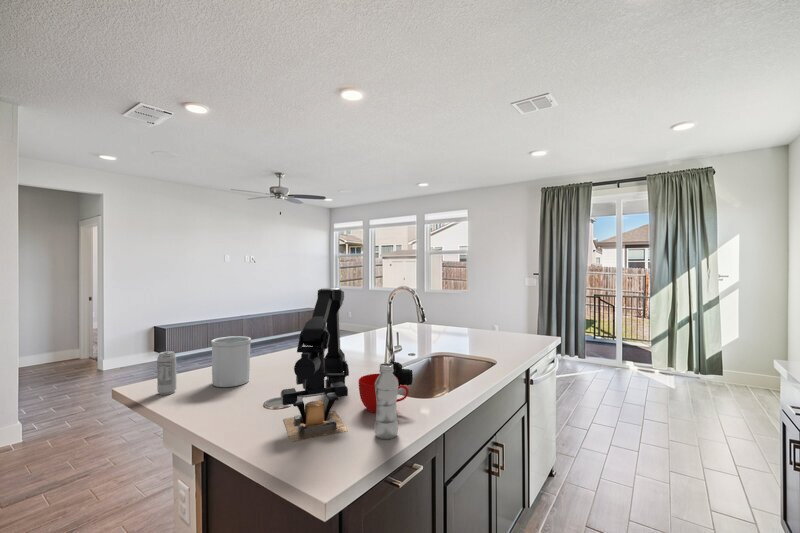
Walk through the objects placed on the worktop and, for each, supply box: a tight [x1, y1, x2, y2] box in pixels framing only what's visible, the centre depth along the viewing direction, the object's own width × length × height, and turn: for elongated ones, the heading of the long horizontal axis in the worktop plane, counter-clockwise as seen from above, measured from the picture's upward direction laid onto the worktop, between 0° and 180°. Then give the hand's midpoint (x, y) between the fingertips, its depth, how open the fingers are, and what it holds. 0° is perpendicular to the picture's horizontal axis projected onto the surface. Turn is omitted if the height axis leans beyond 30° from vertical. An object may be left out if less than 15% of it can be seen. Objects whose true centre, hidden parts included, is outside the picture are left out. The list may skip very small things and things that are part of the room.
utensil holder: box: [210, 335, 252, 388], centre depth 152 cm, size 15×15×18 cm
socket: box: [283, 410, 349, 443], centre depth 110 cm, size 16×16×2 cm
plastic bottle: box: [373, 362, 399, 440], centre depth 103 cm, size 6×7×20 cm
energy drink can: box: [156, 350, 177, 396], centre depth 139 cm, size 6×6×15 cm
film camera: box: [389, 361, 414, 386], centre depth 147 cm, size 15×10×9 cm, turn 169°
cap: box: [304, 400, 325, 427], centre depth 110 cm, size 6×6×6 cm
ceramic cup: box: [358, 373, 410, 414], centre depth 122 cm, size 13×17×10 cm
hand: (314, 421), depth 110 cm, fingers closed on cap, 6 cm apart
